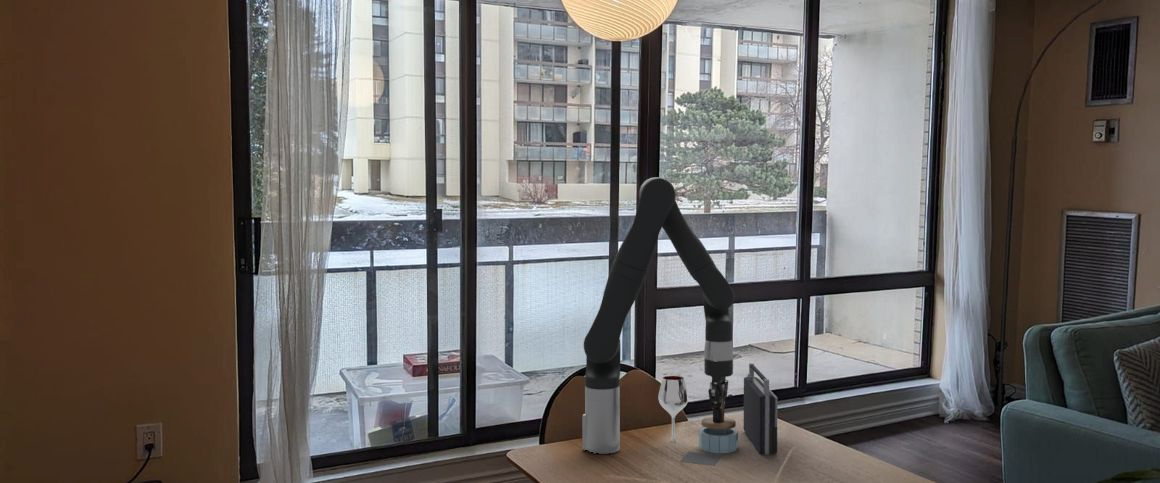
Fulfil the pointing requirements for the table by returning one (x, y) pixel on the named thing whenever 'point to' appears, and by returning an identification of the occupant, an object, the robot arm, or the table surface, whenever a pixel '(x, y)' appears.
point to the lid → (725, 423)
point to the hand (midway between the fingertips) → (718, 420)
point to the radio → (760, 412)
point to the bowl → (718, 440)
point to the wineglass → (673, 397)
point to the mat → (701, 458)
